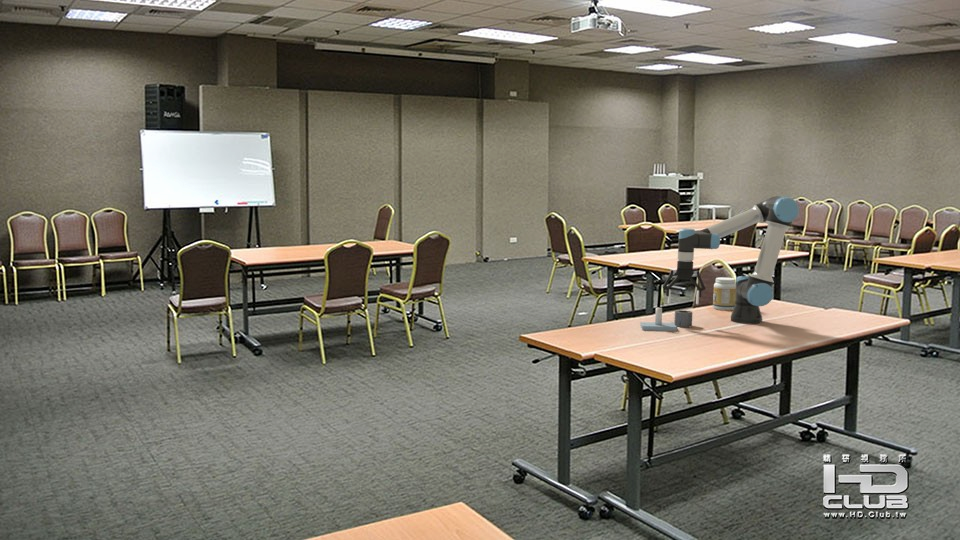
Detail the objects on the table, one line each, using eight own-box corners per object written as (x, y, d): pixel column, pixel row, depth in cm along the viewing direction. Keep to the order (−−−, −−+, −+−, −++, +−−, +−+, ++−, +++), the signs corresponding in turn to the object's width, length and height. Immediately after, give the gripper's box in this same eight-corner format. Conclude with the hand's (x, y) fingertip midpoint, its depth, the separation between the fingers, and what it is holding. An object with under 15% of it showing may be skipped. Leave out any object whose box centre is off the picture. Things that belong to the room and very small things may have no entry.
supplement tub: (710, 306, 447) (712, 276, 445) (733, 307, 446) (734, 277, 444) (715, 310, 435) (716, 279, 433) (737, 310, 434) (739, 280, 432)
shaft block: (673, 327, 388) (674, 306, 387) (676, 331, 378) (677, 310, 377) (640, 326, 390) (641, 306, 389) (642, 330, 380) (643, 309, 379)
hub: (690, 324, 395) (690, 310, 394) (692, 327, 387) (693, 313, 386) (673, 323, 396) (674, 310, 395) (675, 327, 388) (676, 312, 387)
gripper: (710, 260, 390) (707, 303, 393) (658, 258, 393) (656, 301, 395) (713, 262, 383) (710, 305, 385) (660, 260, 385) (658, 303, 388)
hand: (683, 303), depth 390 cm, fingers open, 13 cm apart
